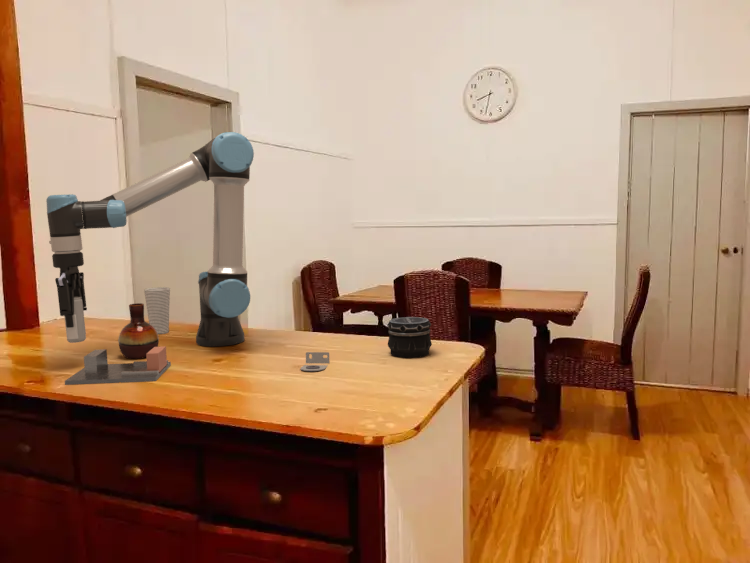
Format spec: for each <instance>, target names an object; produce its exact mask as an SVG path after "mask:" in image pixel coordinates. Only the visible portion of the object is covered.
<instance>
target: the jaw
mask: <svg viewBox="0 0 750 563" xmlns="http://www.w3.org/2000/svg"><path fill="white" fill-rule="evenodd" d="M145 359H146V361H147V371H148V370H158V372H160V371H161V370H162V369H163V368H164V367H165V366H166V365H167V346H158V347H154V348H153V349H151V350H150V351H149V352H148V353H147V354H146V358H145Z"/></svg>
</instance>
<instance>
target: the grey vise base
mask: <svg viewBox="0 0 750 563" xmlns="http://www.w3.org/2000/svg"><path fill="white" fill-rule="evenodd" d="M107 351H108V350H107V349H94V350H92V351H91V352H89V353H88V354H85V356H83V364H84V367H83V368H82V369H80V370H78V371H77V372H76V373H74V374H73V375H71V376H70V377H68V378H66V379H65V380H64V386H65V385H66V386H69V385H91V384H92V385H93V384H114V383H115V384H116V383H118V384H119V382H121V383H142V382H144V383H145V382H157V380H159V378H161V376H162V375H163V374H164V373H165V372H166V371H167V370H168V368H170V367H171V366H172V364H171V363H172V362H171V361H169V360H167V365H166V366H165V367H164V368H163V369H162V370H161V371H160V372H158V370H148V371H147V360H143V361H137V360H136V361H133V362H132V363H131V362H129V363H128V362H127V363H125V362H124V363H109V362H108V352H107Z"/></svg>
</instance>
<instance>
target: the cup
mask: <svg viewBox="0 0 750 563" xmlns="http://www.w3.org/2000/svg"><path fill="white" fill-rule="evenodd" d="M170 292H171V288H170V287H165V286H164V287H161V286H160V287H159V286H158V287H148V288H145V289H143V293H144V298H145V305H146V306H145V307H146V311H147V317H148V323H149V324H151V325H152V326H153V327H154V328H155V329H156V331H157V333H158V335H163V334H168V333H169V332H170V303H171V302H170V301H171V298H170V297H171V293H170Z"/></svg>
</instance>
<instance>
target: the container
mask: <svg viewBox="0 0 750 563" xmlns="http://www.w3.org/2000/svg"><path fill="white" fill-rule="evenodd" d="M431 326H432V323H431V322H430V320H429V319H428V318H425V317H419V316H418V317H416V316H406V317H405V316H404V317H396V318H395V317H394V318H391V319H390V320H389V322H388V323H387V326H386V327H387V329H388V331H387V332H388V335H389V336H388V342H387V347H388V349H389V350H390V355H391V357H392V356H393V357H396V358H405V359H417V358H422V357H423V358H424V357H425V356H428V355H430V349H431V346H432V340H431V335H430V334H431Z"/></svg>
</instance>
